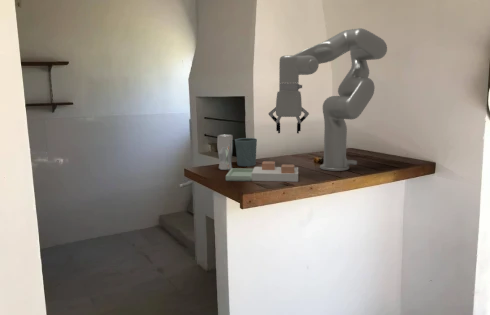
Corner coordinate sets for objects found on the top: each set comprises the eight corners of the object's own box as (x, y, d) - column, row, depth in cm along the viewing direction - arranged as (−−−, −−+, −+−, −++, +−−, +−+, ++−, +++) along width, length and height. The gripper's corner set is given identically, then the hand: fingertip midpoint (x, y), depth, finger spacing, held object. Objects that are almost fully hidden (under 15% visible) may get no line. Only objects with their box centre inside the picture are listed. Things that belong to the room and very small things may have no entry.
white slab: (298, 174, 174) (298, 167, 173) (298, 181, 161) (298, 174, 161) (254, 173, 176) (254, 166, 176) (251, 180, 163) (251, 173, 163)
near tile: (294, 170, 167) (294, 164, 166) (294, 173, 162) (294, 167, 162) (281, 170, 167) (281, 164, 167) (281, 173, 163) (281, 166, 162)
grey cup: (259, 166, 192) (259, 140, 190) (237, 167, 190) (237, 141, 188) (254, 162, 202) (253, 137, 200) (233, 163, 200) (233, 138, 198)
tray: (254, 173, 177) (254, 168, 177) (250, 181, 163) (250, 176, 162) (231, 172, 178) (231, 168, 178) (225, 180, 164) (225, 175, 163)
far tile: (274, 167, 174) (274, 161, 173) (274, 169, 169) (274, 163, 168) (262, 167, 174) (262, 161, 174) (261, 169, 169) (261, 163, 169)
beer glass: (221, 170, 183) (221, 136, 180) (215, 168, 189) (214, 134, 186) (236, 169, 186) (235, 135, 183) (229, 166, 192) (228, 133, 189)
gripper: (310, 87, 168) (310, 132, 171) (267, 87, 170) (267, 131, 173) (311, 87, 160) (310, 134, 163) (266, 88, 162) (266, 134, 165)
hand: (288, 132), depth 168 cm, fingers open, 6 cm apart
